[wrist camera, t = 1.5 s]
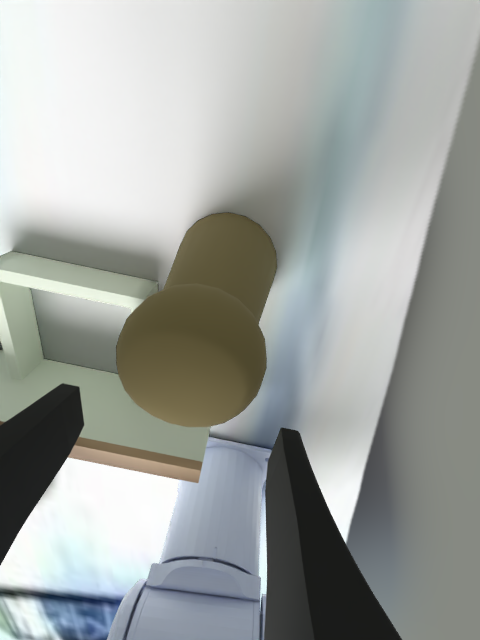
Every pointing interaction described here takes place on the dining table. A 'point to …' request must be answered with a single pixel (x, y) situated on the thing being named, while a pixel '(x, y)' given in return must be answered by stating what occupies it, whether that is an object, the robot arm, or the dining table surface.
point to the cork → (202, 327)
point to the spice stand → (87, 372)
